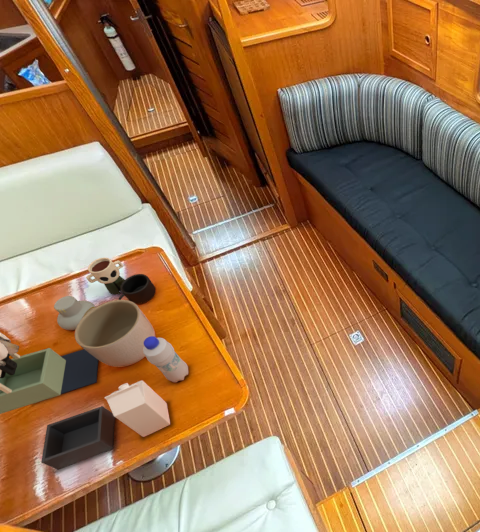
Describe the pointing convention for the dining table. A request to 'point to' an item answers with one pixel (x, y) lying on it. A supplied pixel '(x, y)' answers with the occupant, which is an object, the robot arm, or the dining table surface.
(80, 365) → the mat
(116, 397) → the milk carton
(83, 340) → the planter
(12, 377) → the box
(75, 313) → the air freshener
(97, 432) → the box
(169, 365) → the bottle
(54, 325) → the dining table surface
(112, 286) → the character mug
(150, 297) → the mug
